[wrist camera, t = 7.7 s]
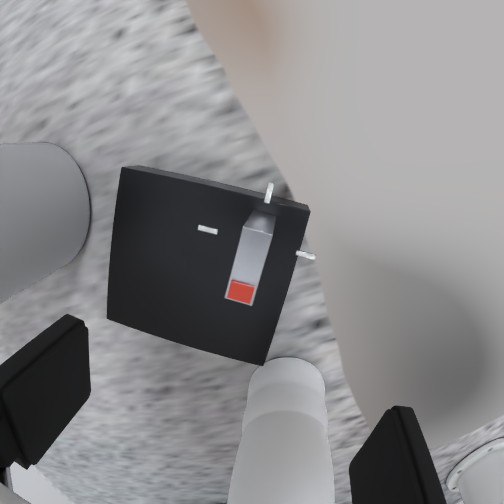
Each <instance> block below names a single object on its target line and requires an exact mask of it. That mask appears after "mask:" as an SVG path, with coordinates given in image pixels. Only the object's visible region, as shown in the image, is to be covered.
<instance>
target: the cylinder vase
mask: <svg viewBox="0 0 504 504" xmlns="http://www.w3.org/2000/svg"><path fill="white" fill-rule="evenodd" d="M89 217H90V205H89V196H88V191H87V187H86V183H85V180H84V177H83V175H82V173H81V171H80V169H79V167H78V165H77V164H76V162H75V161H74V160H73V158H72V157H71V156H70V155H69V154H68V153H67V152H66V151H65V150H63V149H62V148H60V147H58V146H56V145H54V144H51V143H46V142H32V143H7V144H0V304H1V303H2V302H4V301H6V300H7V299H9V298H11V297H12V296H14V295H15V294H17V293H19V292H20V291H22V290H24V289H25V288H27V287H29V286H30V285H32V284H34V283H36V282H37V281H39V280H41V279H42V278H44V277H46V276H48V275H49V274H51V273H53V272H55V271H56V270H58V269H60V268H62V267H63V266H65V265H67V264H68V263H69V262H71V261H72V260H73V259H74V258H75V256H76V255H77V254H78V252H79V251H80V249H81V247H82V245H83V243H84V241H85V238H86V235H87V231H88V226H89Z"/></svg>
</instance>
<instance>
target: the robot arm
mask: <svg viewBox="0 0 504 504" xmlns="http://www.w3.org/2000/svg"><path fill="white" fill-rule="evenodd" d="M90 393H91V383H90V368H89V342H88V328H87V327H85V323H84V321H83V320H81V319H78V318H76V317H74V316H71V315H69V314H66V315H64V316H63V317H61V318H60V319H59V320H57V321H56V322H55V323H54V324H52V325H51V326H50V327H48V328H47V329H46V330H44V331H43V332H42V333H40V334H39V335H38V336H37V337H35V338H34V339H33V340H31V341H30V342H29V343H28V344H26V345H25V346H24V347H22V348H21V349H20V350H19V351H17V352H16V353H15V354H14V355H12V356H11V357H10V358H9V359H7V360H6V361H5V362H4V363H2V364H1V365H0V504H31V503H29V502H27V501H26V500H25V499H23V498H22V497H20V496H19V495H17V494H16V493H14V492H13V487H12V480H11V473H10V466H11V464H12V463H13V462H14V461H15V462H16V463H18V464H19V465H21V466H22V467H23V468H25V469H28V468H29V466H30V465H31V464H32V465H35V464H37V463H38V462H39V460H40V459H41V458H42V457H43V455H44V454H45V453H46V451H47V450H48V449H49V448H50V446H51V445H52V444H53V442H54V441H55V440H56V439H57V437H58V436H59V435H60V433H61V432H62V431H63V430H64V428H65V427H66V426H67V425H68V423H69V422H70V421H71V420H72V418H73V417H74V416H75V414H76V413H77V412H78V411H79V409H80V408H81V407H82V406H83V404H84V403H85V402H86V401H87V399H88V398H89V396H90ZM349 476H350V485H351V495H352V504H447V503H446V500H445V497H444V494H443V490H442V487H441V484H440V481H439V478H438V475H437V472H436V469H435V467H434V464H433V461H432V458H431V455H430V452H429V450H428V447H427V444H426V442H425V439H424V436H423V434H422V431H421V429H420V426H419V423H418V421H417V418H416V415H415V413H414V411H413V409H412V408H411V407H404V406H393V407H392V408H391V409H388V410H387V411H386V412H385V413H384V415H383V416H382V418H381V419H380V421H379V422H378V424H377V425H376V427H375V428H374V430H373V431H372V433H371V434H370V436H369V437H368V439H367V440H366V442H365V443H364V444H363V446H362V447H361V449H360V450H359V451H358V453H357V454H356V456H355V457H354V458H353V460H352V461H351V463H350V466H349ZM446 484H447V487H448V489H449V490H450V491H453V492H460V494H461V497H462V499H463V502H464V504H504V438H500V439H497V440H494V441H492V442H490V443H488V444H486V445H484V446H482V447H480V448H479V449H477V450H475V451H474V452H473V453H471V454H470V455H468V456H467V457H466V458H464V459H463V460H462V461H461V462H460V463H459V464H458V465H457V466H456V467H455V468H454V469H453V470H452V471H451V473H450V474H449V476H448V478H447V481H446Z"/></svg>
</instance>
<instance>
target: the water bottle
mask: <svg viewBox="0 0 504 504" xmlns="http://www.w3.org/2000/svg"><path fill="white" fill-rule="evenodd" d="M242 434H243V435H242V438H241V441H240V444H239V447H238V451H237V455H236V459H235V463H234V468H233V473H232V478H231V483H230V488H229V494H228V500H227V504H335V490H334V476H333V466H332V458H331V451H330V446H329V441H328V437H327V434H328V415H327V410H326V407H325V386H324V381H323V378H322V375H321V373H320V372H319V371H318V369H317V368H316V367H315V366H313V365H312V364H310V363H309V362H307V361H304V360H301V359H298V358H291V357H283V358H277V359H273V360H270V361H268V362H266V363H264V366H260V367H259V368H257V369H256V371H255V372H254V373H253V375H252V377H251V379H250V383H249V387H248V395H247V406H246V409H245V412H244V416H243V422H242Z"/></svg>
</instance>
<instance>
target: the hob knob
mask: <svg viewBox="0 0 504 504" xmlns="http://www.w3.org/2000/svg"><path fill="white" fill-rule="evenodd" d="M275 221H276V216H273V215H270V214H266V213H263V212H259V211H256V210H253V212H252V213H251V215H250V216H249V218H248V219H247V221H246V222H245V224H244V226H243V228H242V231H241V235H240V239H239V243H238V247H237V250H236V254H235V258H234V262H233V266H232V270H231V274H230V277H229V281H228V285H227V289H226V293H225V298H226V299H230V300H233V301H236V302H240V303H243V304H247V305H250V306H252V305H253V301H254V298H255V294H256V291H257V288H258V284H259V281H260V278H261V274H262V271H263V267H264V264H265V261H266V257H267V254H268V250H269V247H270V243H271V240H272V237H273V232H274V226H275Z"/></svg>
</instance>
